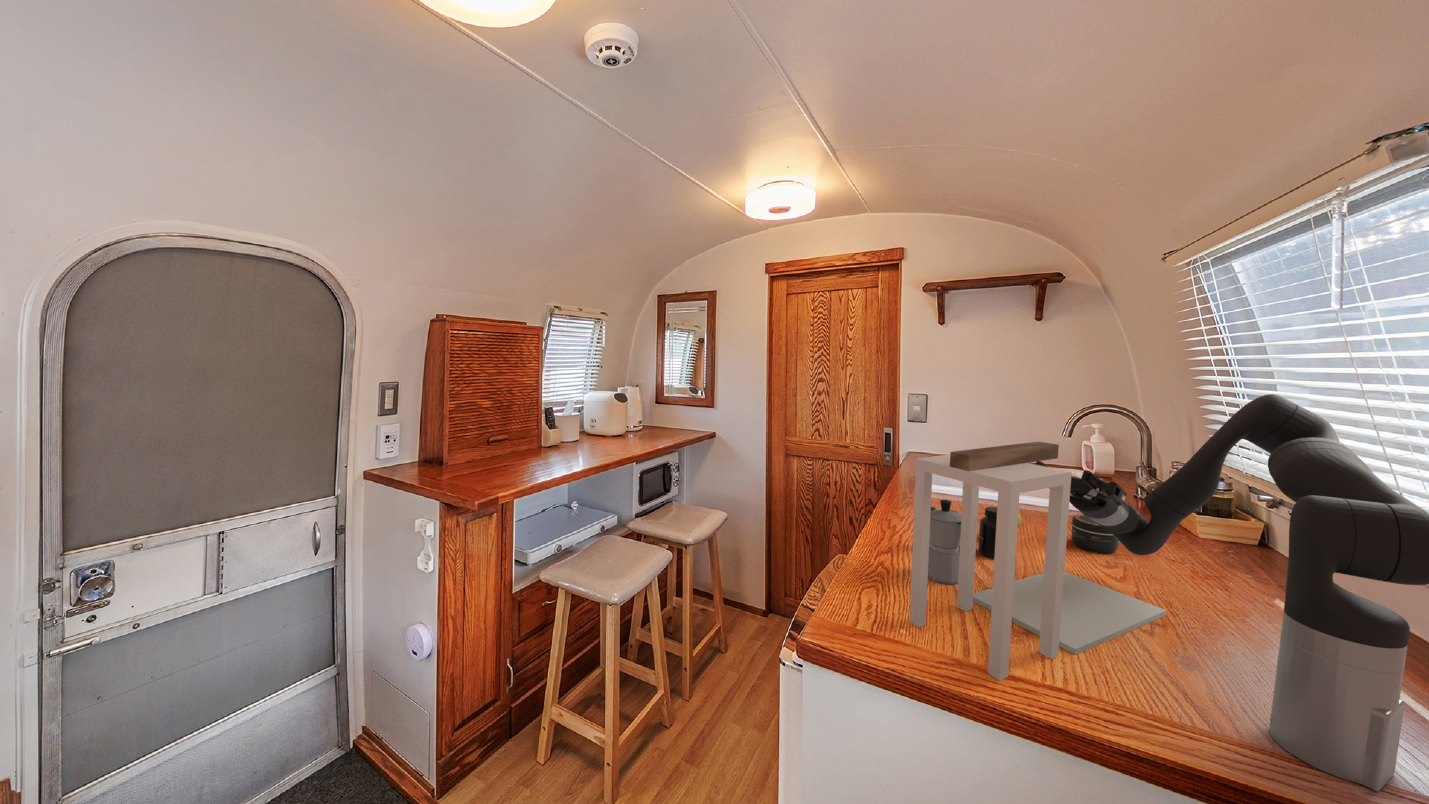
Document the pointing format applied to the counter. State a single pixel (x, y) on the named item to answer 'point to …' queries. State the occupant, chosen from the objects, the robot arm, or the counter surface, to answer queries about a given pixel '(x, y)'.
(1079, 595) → the grey-green mat
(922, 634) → the counter surface
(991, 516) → the supplement bottle
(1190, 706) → the counter surface
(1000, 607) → the grey table
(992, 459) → the walnut bar
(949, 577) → the coffee maker
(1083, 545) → the jar
